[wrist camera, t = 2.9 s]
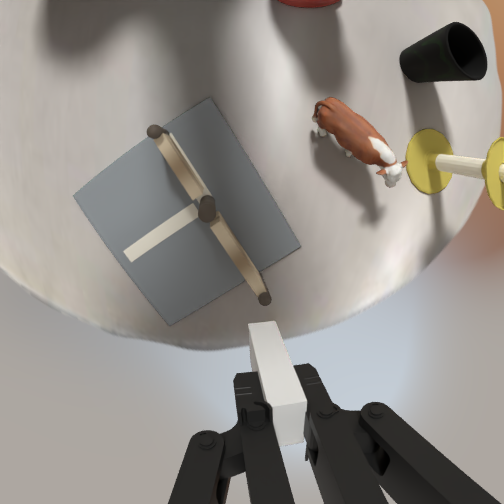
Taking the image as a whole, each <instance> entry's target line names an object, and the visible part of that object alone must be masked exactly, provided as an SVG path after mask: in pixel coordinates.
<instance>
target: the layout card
mask: <svg viewBox="0 0 504 504" xmlns="http://www.w3.org/2000/svg"><path fill="white" fill-rule="evenodd" d="M162 128H164V129H166V130H167V131H168V132H169V134H170V135H169V136H171V138H172V139H173V141H174V142H175V144H176V145H177V147H178V149H179V150H180V152H181V153H182V155H183V156H184V158H185V159H186V161H187V162H188V164H189V165H190V167H191V169H192V170H193V172H194V173H195V175H196V176H197V178H198V179H199V181H200V182H201V184H202V185H203V187H204V190H203V194H202V195H201V196H199V197H198V198H196V199H195V200H192V199H191V197H190V196H189V194H188V193H187V191H186V189H185V188H184V186H183V185H182V183H181V182H180V180H179V179H178V177H177V176H176V174H175V173H174V171H173V170H172V168H171V167H170V165H169V164H168V162H167V161H166V159H165V157H164V156H163V154H162V153H161V151H160V150H159V148H158V147H157V145H156V144H155V142H154V140H153V139H152V138H150V137H147V138H146V139H144V140H143V141H141V142H140V143H139V144H137V145H136V146H134V147H133V148H132V149H130V150H129V151H128V152H126V153H125V154H124V155H122V156H121V157H120V158H118V159H117V160H116V161H114V162H113V163H112V164H111V165H109V166H108V167H107V168H105V169H104V170H103V171H102V172H100V173H99V174H98V175H97V176H95V177H94V178H93V179H92V180H91V181H89V182H88V183H87V184H86V185H85V186H83V187H82V188H81V189H80V190H79V191H78V192H76V193H75V194H74V195H73V197H74V199H75V200H76V202H77V203H78V205H79V206H80V208H81V209H82V211H83V212H84V214H85V215H86V217H87V218H88V220H89V221H90V223H91V224H92V226H93V227H94V229H95V230H96V232H97V233H98V234H99V236H100V237H101V239H102V240H103V241H104V243H105V244H106V246H107V247H108V248H109V250H110V251H111V253H112V254H113V255H114V257H115V258H116V259H117V261H118V262H119V263H120V265H121V266H122V268H123V269H124V270H125V271H126V273H127V274H128V275H129V277H130V278H131V279H132V281H133V282H134V283H135V284H136V286H137V287H138V288H139V290H140V291H141V292H142V293H143V295H144V296H145V297H146V298H147V300H148V301H149V302H150V303H151V305H152V306H153V307H154V308H155V309H156V311H157V312H158V313H159V314H160V316H161V317H162V318H163V319H164V320H165V322H166V323H167V324H168V325H169V326H171V325H172V324H174V323H176V322H177V321H179V320H181V319H182V318H184V317H186V316H187V315H189V314H191V313H193V312H194V311H196V310H198V309H199V308H201V307H203V306H204V305H206V304H208V303H209V302H211V301H213V300H214V299H216V298H217V297H219V296H221V295H222V294H224V293H226V292H227V291H229V290H231V289H232V288H234V287H236V286H237V285H239V284H241V283H242V282H244V281H245V278H244V277H243V275H242V274H241V272H240V271H239V269H238V268H237V266H236V265H235V263H234V262H233V261H232V259H231V258H230V256H229V255H228V253H227V252H226V250H225V249H224V247H223V246H222V244H221V243H220V241H219V240H218V238H217V237H216V235H215V234H214V232H213V231H212V229H211V228H210V222H209V223H205V222H202V221H201V220H200V219H199V217H198V210H199V205H200V200H201V198H202V197H203V196H205V195H210V196H212V197H213V198H214V200H215V207H216V212H217V211H219V212H220V214H221V215H222V217H223V218H224V220H225V221H226V223H227V224H228V226H229V227H230V229H231V230H232V232H233V233H234V235H235V237H236V238H237V240H238V241H239V243H240V244H241V246H242V247H243V249H244V250H245V252H246V253H247V255H248V256H249V258H250V259H251V261H252V262H253V264H254V265H255V267H256V269H257V270H258V272H260V271H262V270H263V269H265V268H267V267H268V266H270V265H271V264H273V263H275V262H276V261H278V260H280V259H281V258H283V257H284V256H286V255H288V254H289V253H291V252H292V251H294V250H296V249H297V248H299V247H300V246H301V245H300V244H299V242H298V240H297V238H296V237H295V235H294V233H293V231H292V230H291V228H290V226H289V224H288V223H287V221H286V219H285V218H284V216H283V214H282V212H281V211H280V209H279V207H278V206H277V204H276V202H275V201H274V199H273V197H272V196H271V194H270V192H269V191H268V189H267V187H266V186H265V184H264V182H263V181H262V179H261V177H260V176H259V174H258V172H257V171H256V169H255V167H254V166H253V164H252V163H251V161H250V159H249V158H248V156H247V154H246V153H245V151H244V150H243V148H242V146H241V145H240V143H239V142H238V140H237V138H236V137H235V135H234V134H233V132H232V130H231V129H230V127H229V126H228V124H227V123H226V121H225V119H224V118H223V116H222V115H221V113H220V112H219V110H218V109H217V107H216V105H215V104H214V102H213V101H212V99H211V98H210V97H209V98H208V99H206V100H204V101H203V102H201V103H199V104H198V105H196V106H194V107H193V108H191V109H190V110H188V111H186V112H185V113H183V114H182V115H180V116H178V117H177V118H175V119H174V120H172V121H171V122H169V123H168V124H166V125H165V126H163V127H162Z"/></svg>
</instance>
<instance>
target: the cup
mask: <svg viewBox="0 0 504 504" xmlns="http://www.w3.org/2000/svg"><path fill="white" fill-rule="evenodd" d="M400 66H401V68H402V71H403V72H404V74H405V75H406V76H407V77H408V78H409V79H410V80H412V81H414V82H417V83H422V82H438V81H470V80H480V79H482V78H483V77H484V76H485V74H486V71H487V57H486V53H485V50H484V47H483V45H482V43H481V41H480V40H479V38H478V37H477V35H476V34H475V33H474V32H473V31H472V30H471V29H470V28H469V27H467V26H466V25H464V24H462V23H459V22H453V23H450V24H448V25H447V26H445V27H443V28H441V29H439V30H437V31H436V32H434V33H432V34H430V35H429V36H427V37H425V38H423V39H422V40H420V41H418V42H417V43H415V44H413V45H411V46H410V47H408V48H406V49H405V50H403V51H402V52H401V55H400Z"/></svg>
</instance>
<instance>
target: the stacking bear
mask: <svg viewBox="0 0 504 504" xmlns="http://www.w3.org/2000/svg"><path fill="white" fill-rule="evenodd" d="M278 1H280V2H282V3H284V4H287V5H290V6H295V7H306V8H314V7H323V6H327V5H331V4H333V3H336V2H338V1H339V0H278Z"/></svg>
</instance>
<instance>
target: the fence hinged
mask: <svg viewBox="0 0 504 504" xmlns="http://www.w3.org/2000/svg"><path fill="white" fill-rule="evenodd" d="M210 228H211V229H212V231H213V232H214V234H215V235H216V237H217V238H218V240H219V241H220V243H221V244H222V246H223V247H224V249H225V250H226V252H227V253H228V255H229V256H230V258H231V259H232V261H233V262H234V263H235V265H236V266H237V268H238V269H239V271H240V272H241V274H242V275H243V277H244V278H245V280H246V281H247V283H248V284H249V285H250V287H251V288H252V290H253V291H254V293H255V294H256V296H257V297H258V300H259V303H260V304H261V305H263V306H267V305H269V304H270V303H271V301H272V299H271V296H270V294H269V291H268V289H267V286H266V284H265V282H264V279H263V277H262V275H261V274H260V273H259V272H258V270H257V269H256V267H255V265H254V264H253V262H252V261H251V259H250V258H249V256H248V255H247V253H246V252H245V250H244V249H243V247H242V246H241V244H240V243H239V241H238V240H237V238H236V237H235V235H234V233H233V232H232V230H231V229H230V227H229V226H228V224H227V223H226V221H225V220H224V218H223V217H222V215H221V214H220V212H219V211H217V212H216V217H215V219H214V220H213V221H212V222H210Z"/></svg>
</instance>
